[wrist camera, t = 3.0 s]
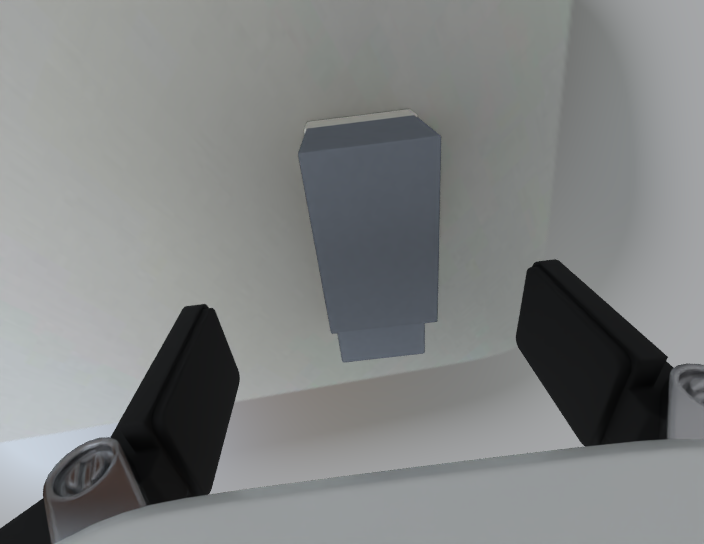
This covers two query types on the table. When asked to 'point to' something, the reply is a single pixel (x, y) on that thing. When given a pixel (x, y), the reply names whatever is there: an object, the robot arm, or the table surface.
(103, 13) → the table surface
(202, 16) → the table surface
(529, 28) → the table surface
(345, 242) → the grey stepped block
